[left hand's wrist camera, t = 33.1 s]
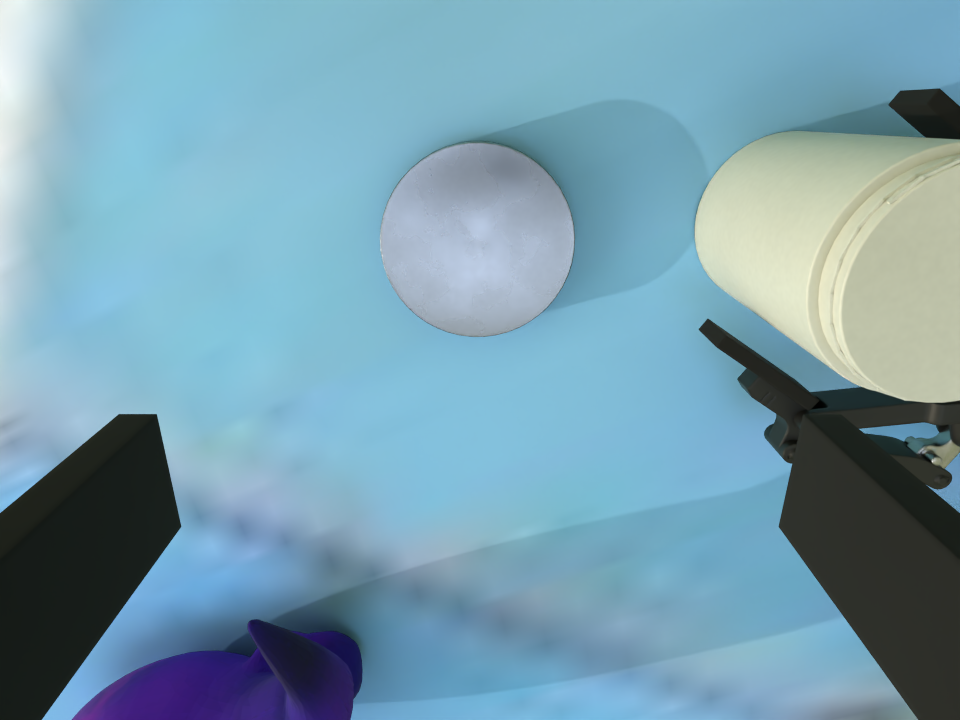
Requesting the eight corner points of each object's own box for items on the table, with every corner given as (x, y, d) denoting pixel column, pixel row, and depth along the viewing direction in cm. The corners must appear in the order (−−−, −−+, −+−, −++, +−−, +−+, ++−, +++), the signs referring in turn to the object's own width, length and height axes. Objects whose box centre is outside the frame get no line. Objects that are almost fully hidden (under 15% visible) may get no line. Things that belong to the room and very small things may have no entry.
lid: (373, 148, 35) (367, 150, 33) (568, 133, 35) (573, 134, 33) (396, 332, 39) (392, 342, 37) (571, 320, 39) (576, 330, 37)
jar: (897, 227, 37) (1160, 299, 22) (752, 334, 39) (907, 459, 25) (810, 90, 34) (1047, 74, 20) (660, 214, 36) (776, 278, 22)
